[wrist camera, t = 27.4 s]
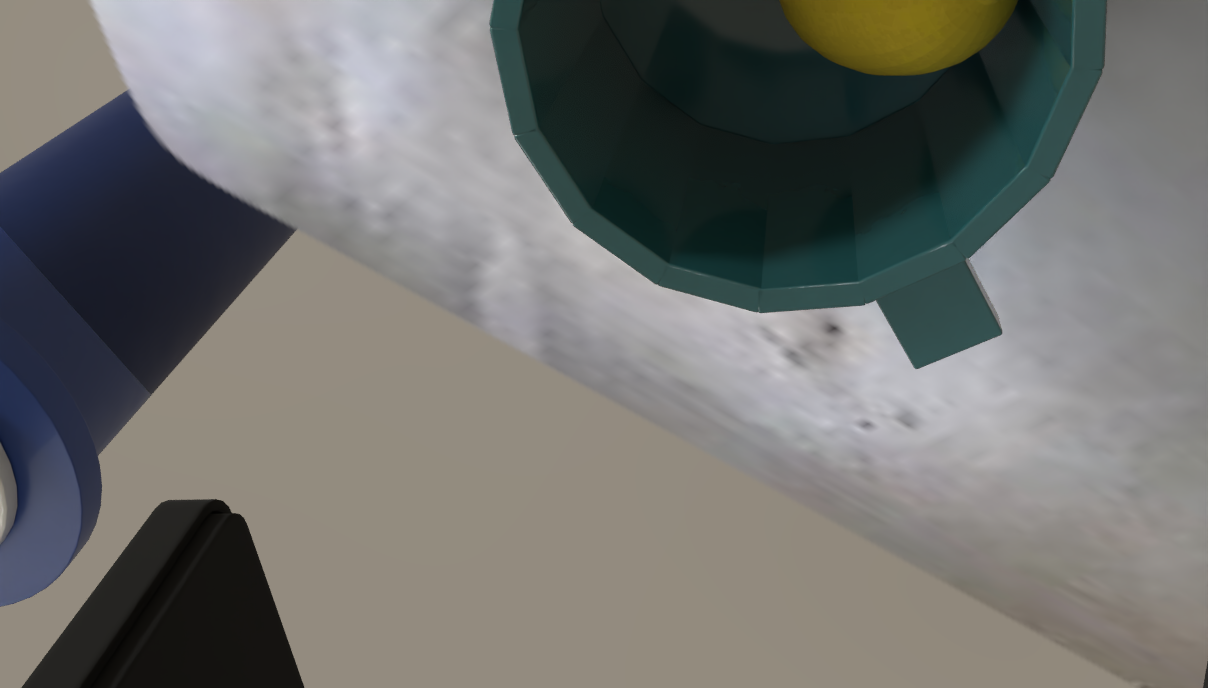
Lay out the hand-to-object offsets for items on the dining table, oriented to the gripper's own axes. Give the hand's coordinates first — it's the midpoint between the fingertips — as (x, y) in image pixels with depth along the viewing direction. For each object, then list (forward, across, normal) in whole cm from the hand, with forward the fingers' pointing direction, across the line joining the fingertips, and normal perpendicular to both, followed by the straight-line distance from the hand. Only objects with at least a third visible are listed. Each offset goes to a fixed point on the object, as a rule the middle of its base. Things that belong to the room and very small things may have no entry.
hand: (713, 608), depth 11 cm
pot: (+28, -1, 0) cm, 28 cm away
